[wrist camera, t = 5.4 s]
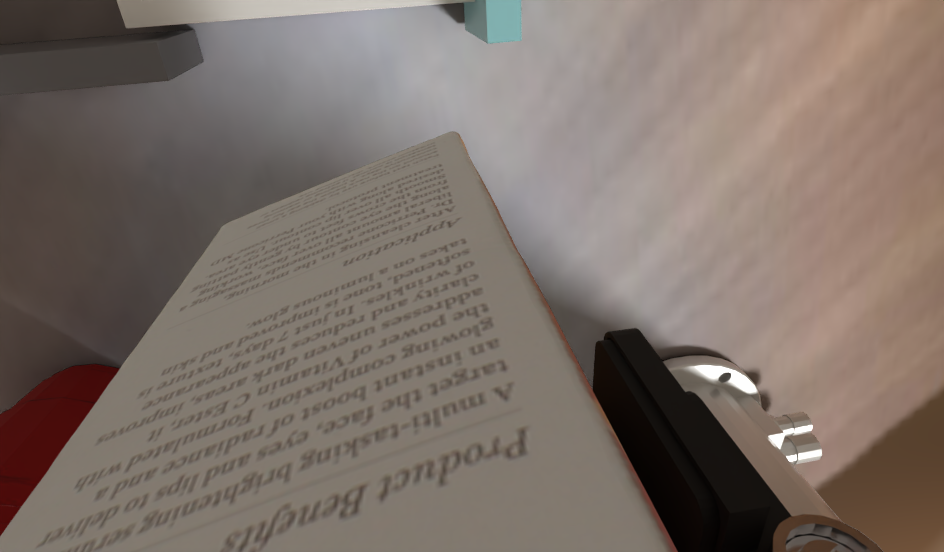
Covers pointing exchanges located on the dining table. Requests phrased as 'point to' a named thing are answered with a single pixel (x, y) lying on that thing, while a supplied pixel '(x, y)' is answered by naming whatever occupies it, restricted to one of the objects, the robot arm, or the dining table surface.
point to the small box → (350, 393)
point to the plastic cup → (44, 430)
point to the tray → (318, 12)
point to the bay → (96, 61)
